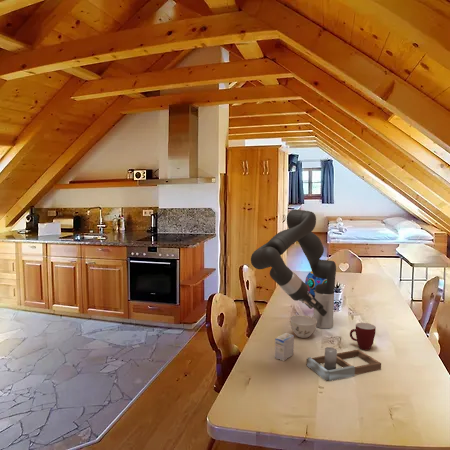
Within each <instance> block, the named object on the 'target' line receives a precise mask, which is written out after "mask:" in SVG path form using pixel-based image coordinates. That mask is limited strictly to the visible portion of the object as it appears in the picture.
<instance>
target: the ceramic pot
mask: <svg viewBox="0 0 450 450" xmlns="http://www.w3.org/2000/svg"><path fill="white" fill-rule="evenodd" d="M326 282H327V279H323V278H317V277H315V276H314V275H313V272H312V270H311V271H309V272H308V273H307V275H306V276H305V280H304V283H305V284H306V285H307V286H308V293H309V294H311V295H312V296H314V297H315V287H316V285H319V284H323V283H326Z"/></svg>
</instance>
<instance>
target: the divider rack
mask: <svg viewBox="0 0 450 450" xmlns="http://www.w3.org/2000/svg"><path fill="white" fill-rule="evenodd" d="M352 358H359V359H361V360H362V361H364V362H365V363H367V364H363V365H358V366H354V365H351V364H350V363H349V362H347V361H346V360H347V359H352ZM324 361H325V355H321V356H316V357H311V356H309V357H307V358H306V360H305V363H306V367H308V368H309V369H310V368H311V369H312V370H311V369H310V370H311V371H313V372H314V373H315V372H316V373H317V376H319V377H320V376H321V377H322V378H321V377H320V378H321V379H322V380H324V381H325V380H326V382H328V381H327V380H329V382H333V381H337V379H338V380H341V379H342V380H343V379H347V378H353V377H355V376H356V375H361V374H366V373H369V372H375V371H380V370H381V369H382V362H380V361H378V360H377V359H375V358H374V357H372V356H370V355H368V354H367V353H365V352H363V351H362V350H361V349H353V350H348V351H342V352H337V360H336V365H338V366H340V368H336V369H333V370H327V369H325V368H324V365H321V364H320V363H322V364H324ZM342 367H343V368H342ZM332 380H333V381H332Z"/></svg>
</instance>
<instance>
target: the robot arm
mask: <svg viewBox="0 0 450 450" xmlns="http://www.w3.org/2000/svg"><path fill="white" fill-rule="evenodd" d="M316 216H317V215H316V214H315V213H314V212H313V211H309V210H305V209H292V210H290V211H288V213H287V215H286V224H287V229H283V230H281V231H280V232H278V233H276V234H275V235H274V236H272V237H271V239H270V240H269V241H268V242H266V243H264V244H262V245H261V246H260V247H258V248H257V249H255V250H254V251H253V252H252V254H251V256H250V263H251V265H252V267H253V268H255V269H256V270H265V269H268V268H271V269H270V270H269V276H270V278H271V279H272V280H273V281H274V282H275V283H276V284H277V286H279V287H280V288H281V290H282V291H284V293H286V295H288V296H289V298H291V299H292V300H293V301H297V302H298V301H299V302H300V303H302V304H304V305H305V306H307V307H308V308H309V309H310V310H312V309H313V316H312V318H315V319H316V320H317V325H316V328H320V329H333V327H334V314H335V313H334V311H335V309H334V307H335V305H334V304H335V288H336V287H335V286H336V274H337V264H336V261H333V260H327V259H321V258H322V256H324V252H325V248H324V244H323V243H322V241H321V239H320V237H319V236H318V235H316V234H315V233H314V232H313V230H315V227H316V224H317V217H316ZM297 242H298V244H299V246H300V248H301V250H302V251H303V252H302V253H303V254H304V255H305V257H306V259H307V261H308V263H309V266H310V269H311V271H312V272H313V275H314V276H315V277H317V278H323V279H327V282H326V283H323V284H319V285H316V287H315V296H314V297H313V295H312V294H310V293H309V292H308V286H307V285H306V284H305V281H303V280H302V279H301V278H300V277H299V276H298V275H297V274H296V273H294V272H293V271H292V270H291V268H289V267H288V266H287V265H286V263H285V261H284V260H283V258H282V255H284V253H285V252H287V250H288V249H289V248H290V247H291V246H292V245H294V244H295V243H297Z"/></svg>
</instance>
